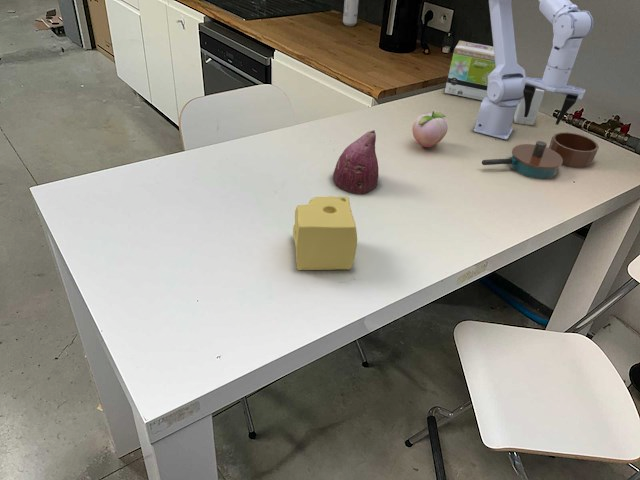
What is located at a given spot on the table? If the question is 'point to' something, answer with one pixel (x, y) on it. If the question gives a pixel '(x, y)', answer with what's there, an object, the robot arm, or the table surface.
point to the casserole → (574, 149)
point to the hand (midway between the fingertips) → (541, 119)
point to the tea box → (470, 70)
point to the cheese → (325, 234)
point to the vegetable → (358, 166)
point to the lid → (537, 155)
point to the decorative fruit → (429, 129)
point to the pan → (534, 171)
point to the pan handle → (500, 161)
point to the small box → (533, 109)
